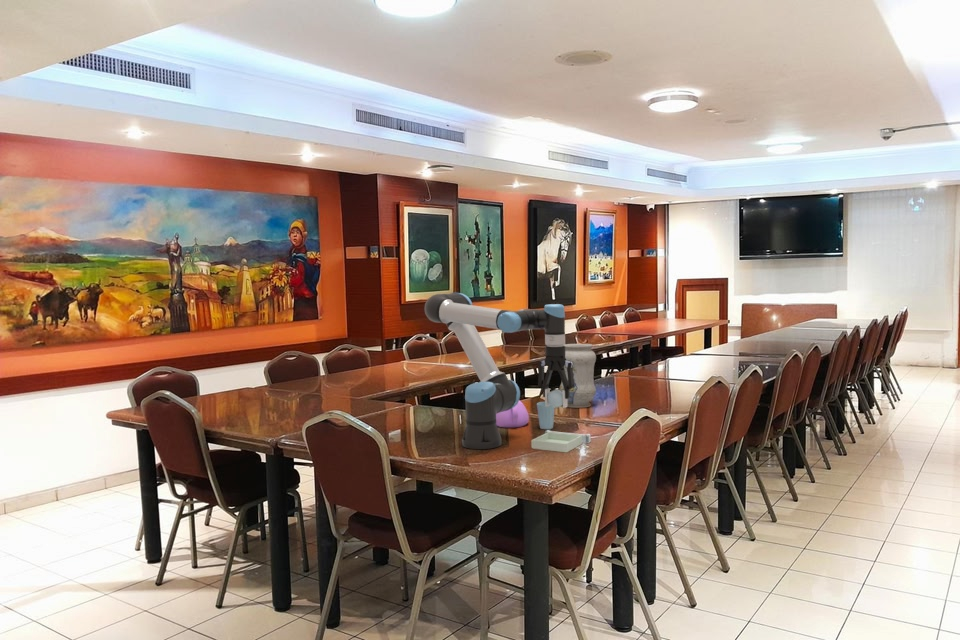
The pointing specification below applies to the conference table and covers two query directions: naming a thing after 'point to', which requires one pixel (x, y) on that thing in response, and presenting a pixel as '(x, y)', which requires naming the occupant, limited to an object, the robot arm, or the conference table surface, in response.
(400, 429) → the conference table surface
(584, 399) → the vase
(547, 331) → the robot arm
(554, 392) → the ball
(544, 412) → the cup
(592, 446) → the conference table surface
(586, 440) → the white bar handle
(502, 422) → the teapot
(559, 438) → the tray
